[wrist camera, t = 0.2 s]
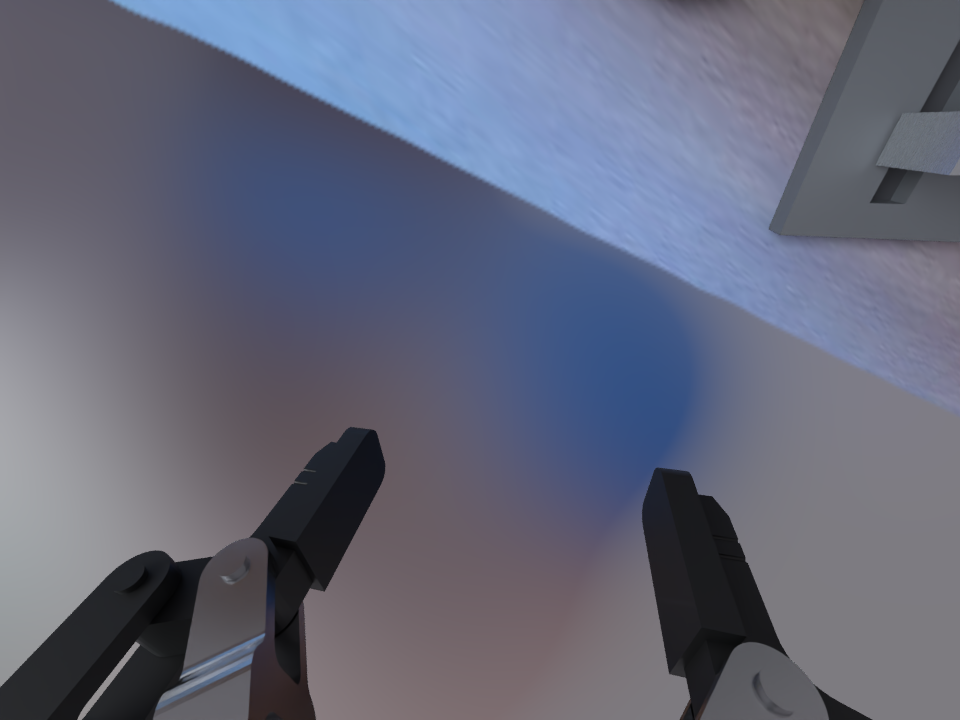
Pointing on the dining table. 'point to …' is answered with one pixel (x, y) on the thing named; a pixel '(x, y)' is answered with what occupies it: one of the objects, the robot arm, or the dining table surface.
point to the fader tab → (925, 143)
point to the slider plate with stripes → (879, 131)
